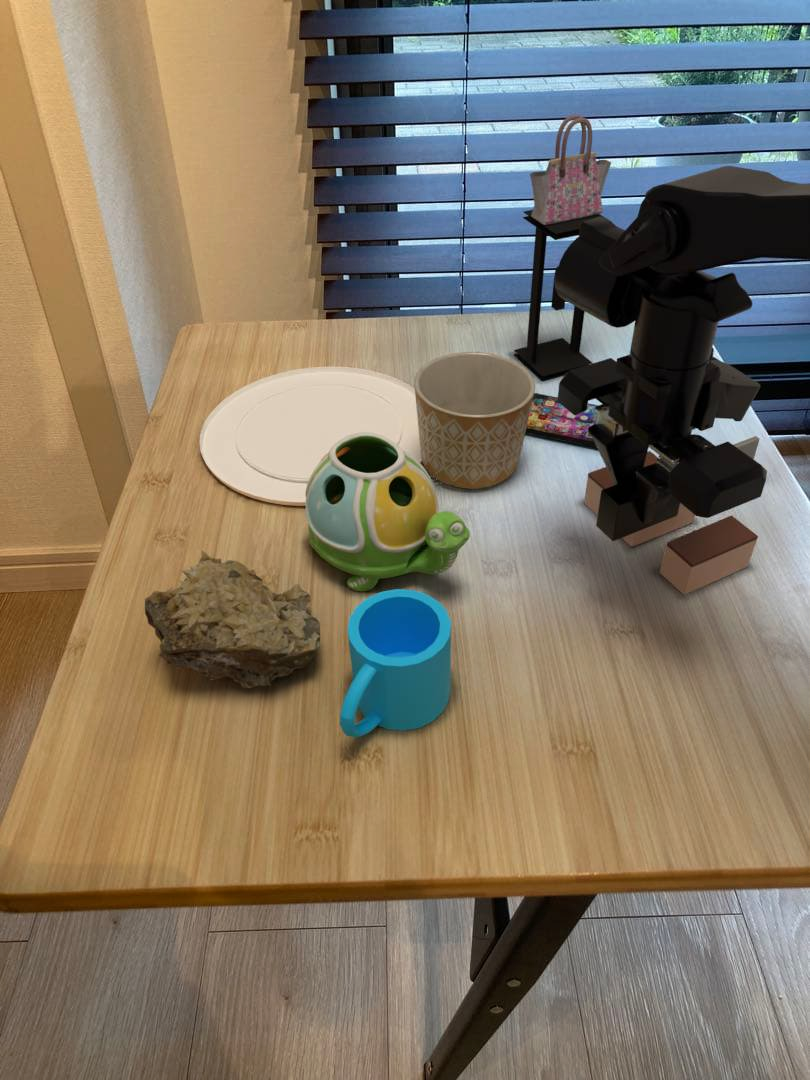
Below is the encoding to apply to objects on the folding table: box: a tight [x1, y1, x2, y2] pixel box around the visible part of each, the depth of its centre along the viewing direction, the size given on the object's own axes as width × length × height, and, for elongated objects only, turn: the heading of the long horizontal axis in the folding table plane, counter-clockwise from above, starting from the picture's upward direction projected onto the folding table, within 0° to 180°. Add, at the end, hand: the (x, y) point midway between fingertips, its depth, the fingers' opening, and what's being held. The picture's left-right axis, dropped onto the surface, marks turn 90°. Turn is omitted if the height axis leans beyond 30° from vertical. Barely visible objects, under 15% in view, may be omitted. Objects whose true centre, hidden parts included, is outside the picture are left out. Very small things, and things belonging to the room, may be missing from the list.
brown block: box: [659, 515, 759, 596], centre depth 80 cm, size 4×8×4 cm, turn 118°
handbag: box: [513, 114, 613, 382], centre depth 102 cm, size 10×8×30 cm
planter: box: [413, 351, 536, 489], centre depth 92 cm, size 13×13×10 cm
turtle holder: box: [305, 432, 471, 592], centre depth 80 cm, size 12×18×12 cm
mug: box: [339, 588, 452, 739], centre depth 68 cm, size 12×8×8 cm
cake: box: [583, 450, 696, 548], centre depth 87 cm, size 8×8×4 cm
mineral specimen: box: [144, 549, 321, 689], centre depth 73 cm, size 14×13×10 cm
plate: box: [199, 366, 423, 507], centre depth 100 cm, size 28×28×1 cm
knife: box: [595, 435, 760, 542], centre depth 73 cm, size 16×2×4 cm, turn 117°
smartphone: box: [525, 392, 600, 449], centre depth 101 cm, size 8×1×15 cm
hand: (637, 512), depth 73 cm, fingers closed on knife, 2 cm apart
